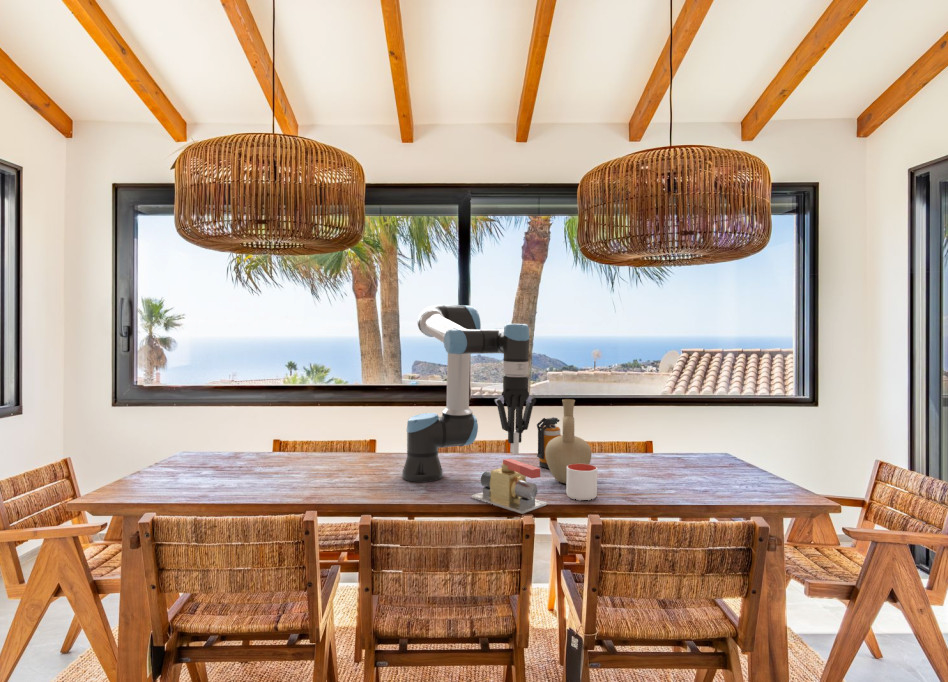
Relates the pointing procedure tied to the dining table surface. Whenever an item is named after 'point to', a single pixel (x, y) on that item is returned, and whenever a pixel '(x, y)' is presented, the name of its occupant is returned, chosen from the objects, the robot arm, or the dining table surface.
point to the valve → (509, 491)
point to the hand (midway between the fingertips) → (514, 453)
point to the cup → (581, 481)
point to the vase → (566, 447)
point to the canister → (546, 437)
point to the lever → (520, 468)
